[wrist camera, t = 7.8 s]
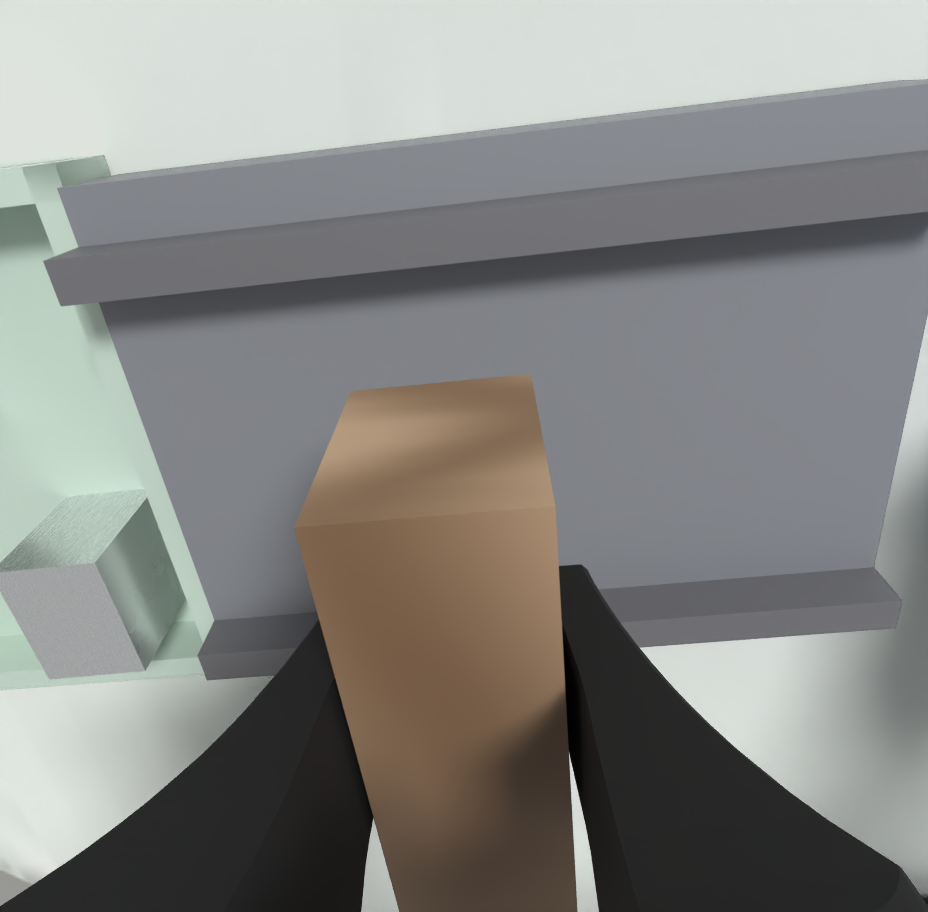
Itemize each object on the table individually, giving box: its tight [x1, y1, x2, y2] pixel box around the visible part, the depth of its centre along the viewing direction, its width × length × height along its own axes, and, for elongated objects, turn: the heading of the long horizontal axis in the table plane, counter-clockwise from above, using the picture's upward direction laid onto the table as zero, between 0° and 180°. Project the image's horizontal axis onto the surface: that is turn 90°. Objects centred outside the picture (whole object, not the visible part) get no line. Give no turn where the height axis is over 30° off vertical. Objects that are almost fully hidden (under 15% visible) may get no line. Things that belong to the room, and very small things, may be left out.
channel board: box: [43, 79, 928, 680], centre depth 19 cm, size 20×15×4 cm
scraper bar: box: [294, 374, 577, 912], centre depth 12 cm, size 3×9×4 cm, turn 6°
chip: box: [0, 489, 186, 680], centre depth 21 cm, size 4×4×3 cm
